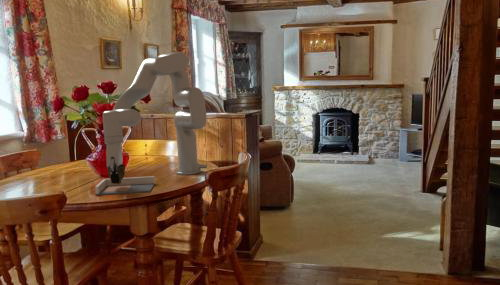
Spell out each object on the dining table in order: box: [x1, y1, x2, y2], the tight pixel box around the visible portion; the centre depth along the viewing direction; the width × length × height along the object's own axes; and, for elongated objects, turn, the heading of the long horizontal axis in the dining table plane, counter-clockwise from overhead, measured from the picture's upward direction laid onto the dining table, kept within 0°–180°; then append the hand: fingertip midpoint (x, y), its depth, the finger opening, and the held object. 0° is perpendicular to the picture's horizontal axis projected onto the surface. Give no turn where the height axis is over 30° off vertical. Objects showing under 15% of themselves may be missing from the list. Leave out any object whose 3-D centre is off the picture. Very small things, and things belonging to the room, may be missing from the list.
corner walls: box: [94, 175, 156, 195], centre depth 185 cm, size 22×15×3 cm
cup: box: [106, 163, 126, 184], centre depth 185 cm, size 8×7×8 cm
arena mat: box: [95, 183, 156, 196], centre depth 186 cm, size 22×15×1 cm
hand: (117, 180), depth 185 cm, fingers closed on cup, 6 cm apart
